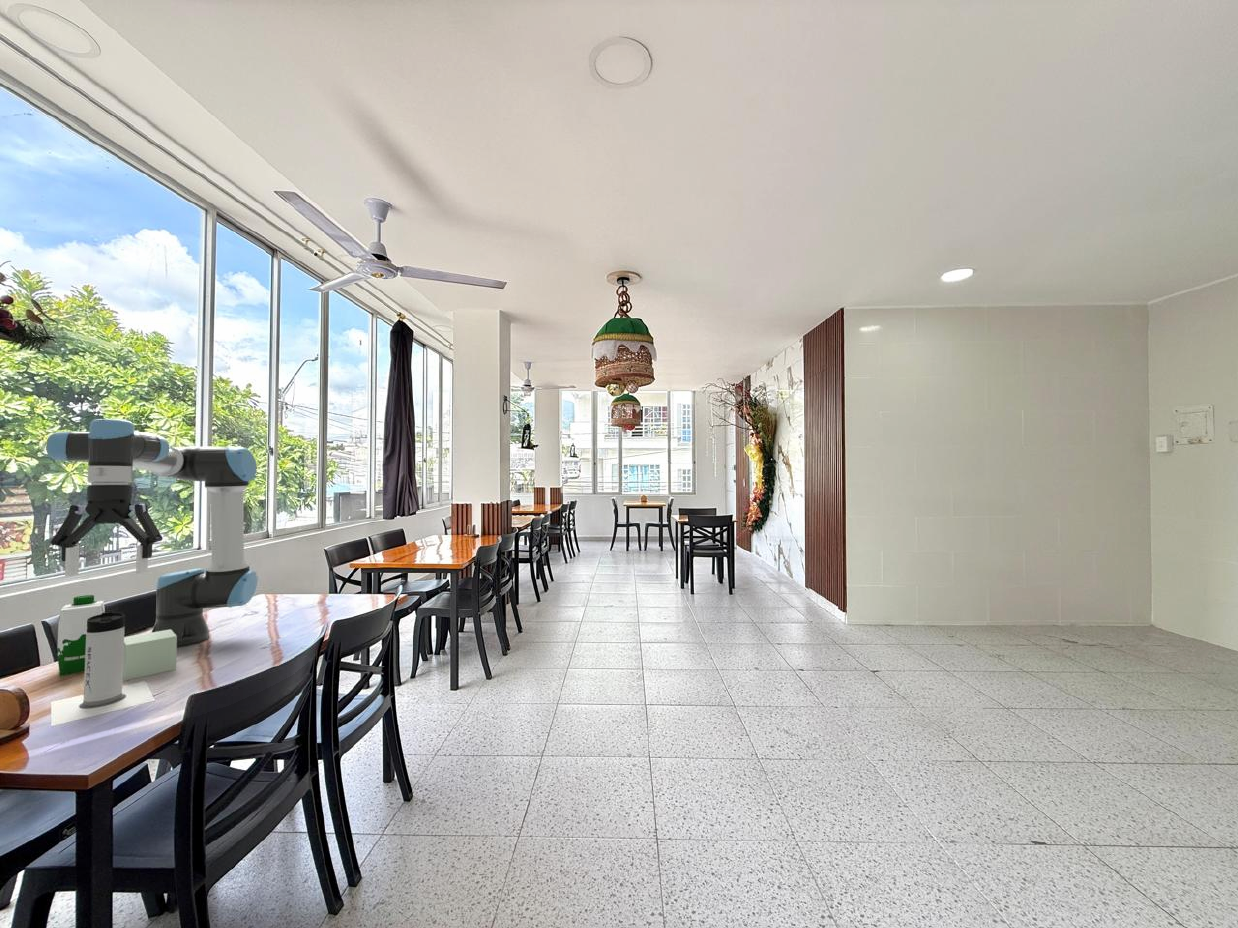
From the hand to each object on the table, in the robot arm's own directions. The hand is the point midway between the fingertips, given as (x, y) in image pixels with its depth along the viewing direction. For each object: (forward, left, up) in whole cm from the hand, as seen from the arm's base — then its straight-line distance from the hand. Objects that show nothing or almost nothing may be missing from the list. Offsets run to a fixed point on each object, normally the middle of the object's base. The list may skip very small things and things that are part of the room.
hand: (107, 573), depth 117 cm
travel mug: (0, 0, -30) cm, 30 cm away
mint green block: (-21, -3, -31) cm, 37 cm away
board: (0, 0, -31) cm, 31 cm away
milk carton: (-30, -24, -31) cm, 49 cm away
